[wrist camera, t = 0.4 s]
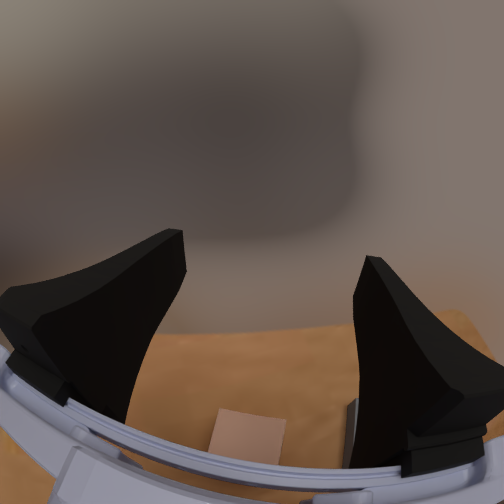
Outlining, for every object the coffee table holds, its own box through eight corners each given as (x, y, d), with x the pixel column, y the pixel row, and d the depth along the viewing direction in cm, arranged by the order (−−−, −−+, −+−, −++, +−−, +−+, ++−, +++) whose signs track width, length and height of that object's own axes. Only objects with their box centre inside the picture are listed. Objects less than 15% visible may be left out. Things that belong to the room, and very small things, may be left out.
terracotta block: (268, 480, 18) (275, 480, 14) (213, 470, 19) (203, 467, 15) (278, 432, 22) (286, 419, 18) (225, 423, 22) (219, 408, 18)
